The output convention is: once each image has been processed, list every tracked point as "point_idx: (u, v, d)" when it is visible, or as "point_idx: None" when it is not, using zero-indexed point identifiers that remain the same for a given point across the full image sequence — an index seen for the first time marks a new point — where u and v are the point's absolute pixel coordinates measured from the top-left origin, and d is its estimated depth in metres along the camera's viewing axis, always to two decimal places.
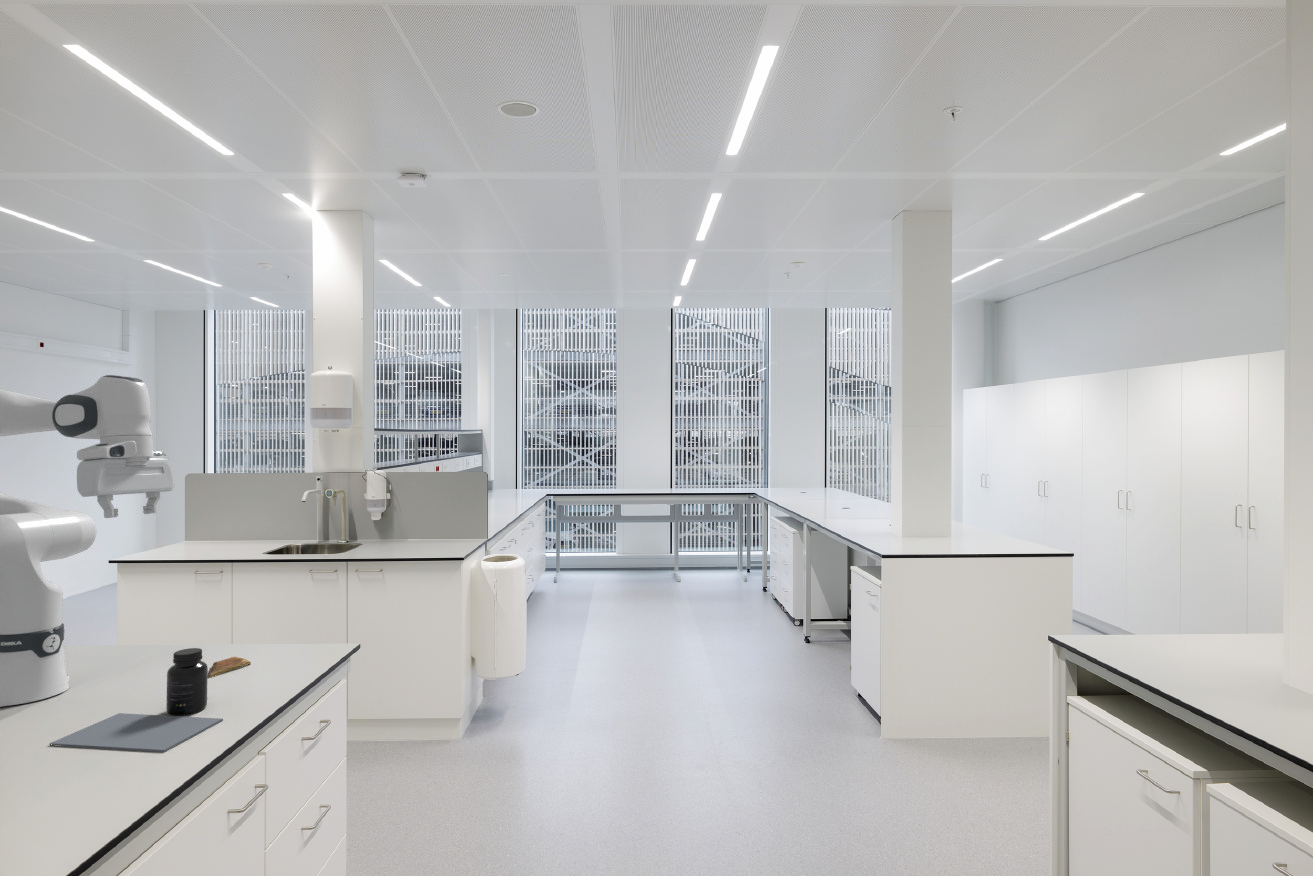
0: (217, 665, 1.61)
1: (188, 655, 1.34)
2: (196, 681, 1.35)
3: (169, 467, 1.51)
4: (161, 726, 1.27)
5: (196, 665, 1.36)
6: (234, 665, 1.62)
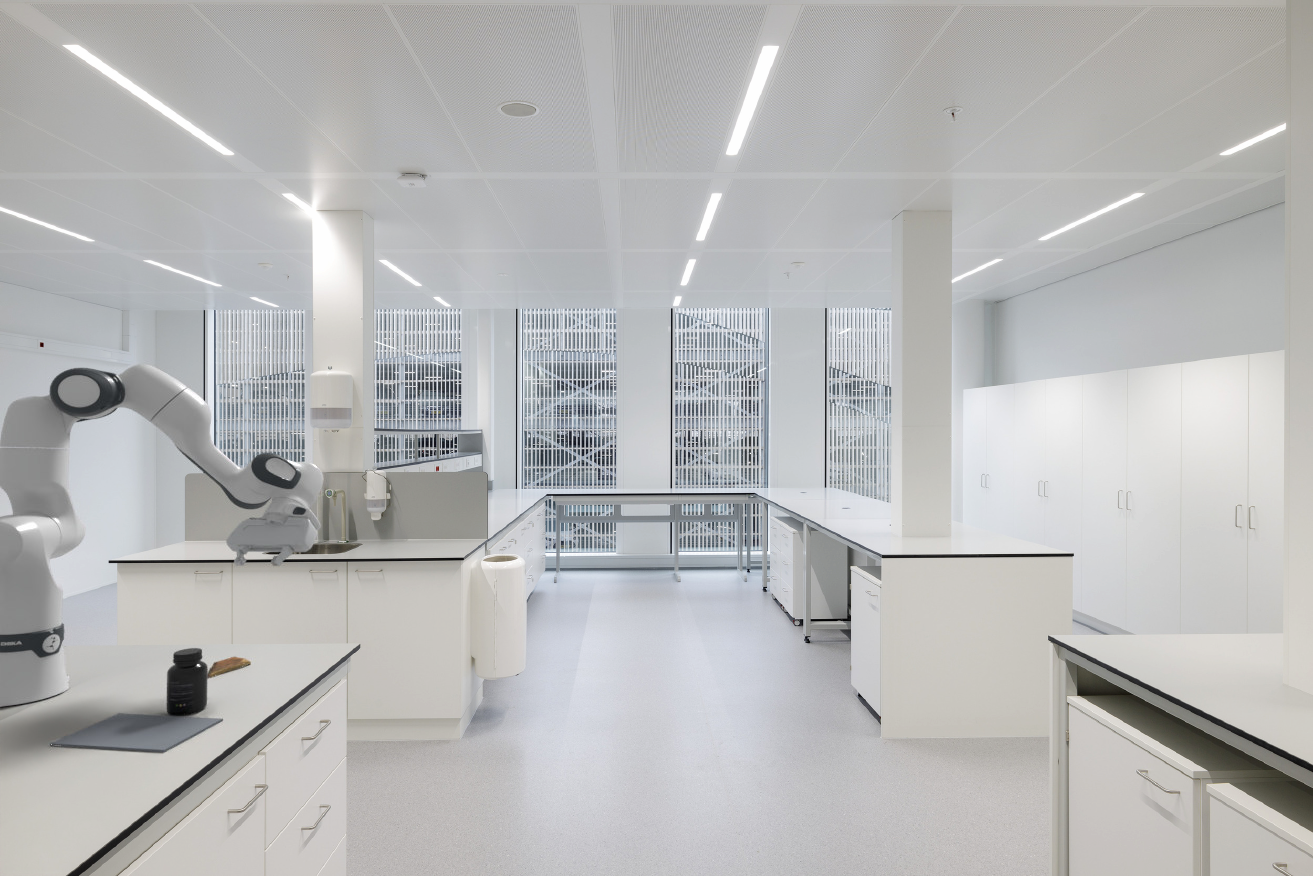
0: (217, 665, 1.61)
1: (188, 655, 1.34)
2: (196, 681, 1.35)
3: None
4: (161, 726, 1.27)
5: (196, 665, 1.36)
6: (234, 665, 1.62)
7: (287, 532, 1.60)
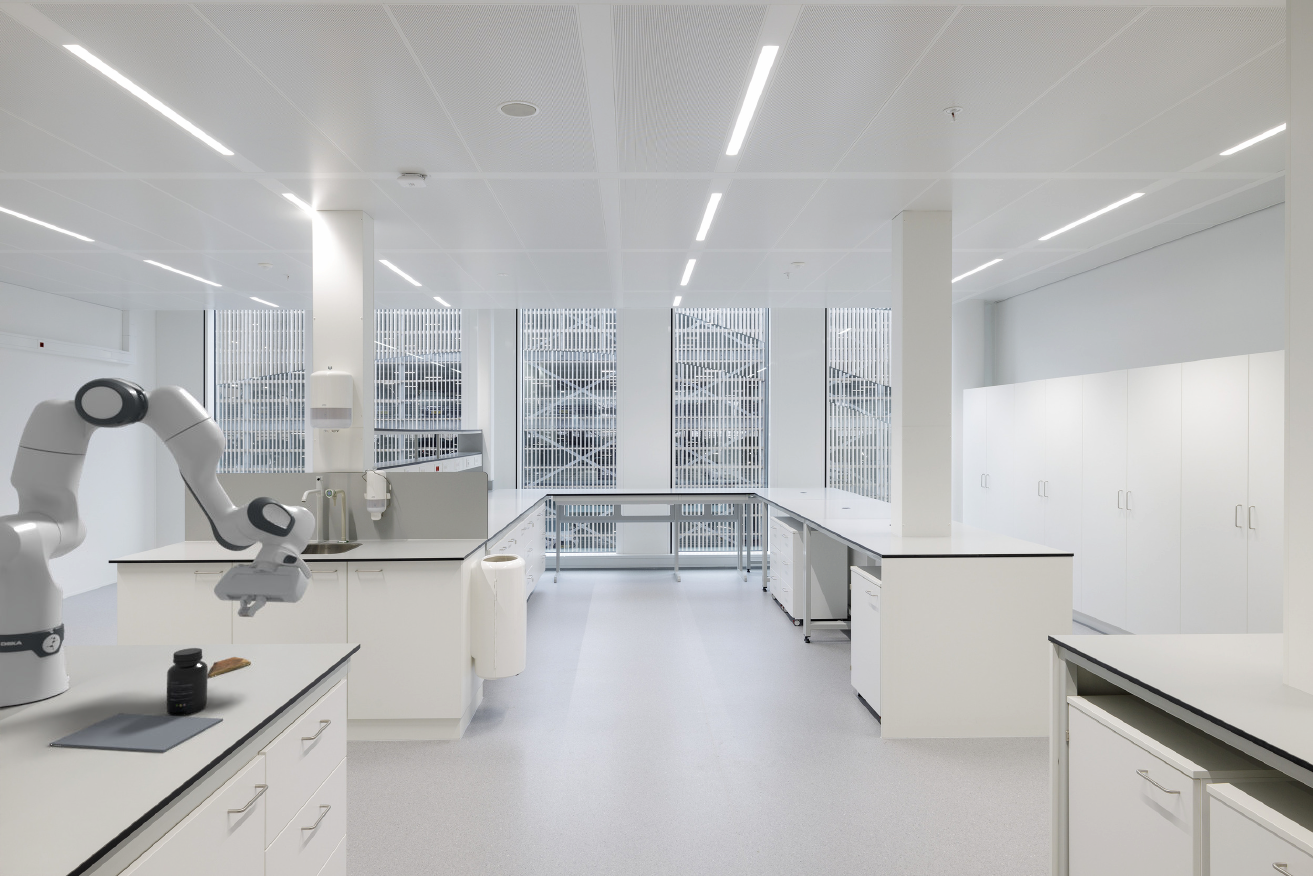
0: (217, 665, 1.61)
1: (188, 655, 1.34)
2: (196, 681, 1.35)
3: None
4: (161, 726, 1.27)
5: (196, 665, 1.36)
6: (234, 665, 1.62)
7: (277, 582, 1.57)
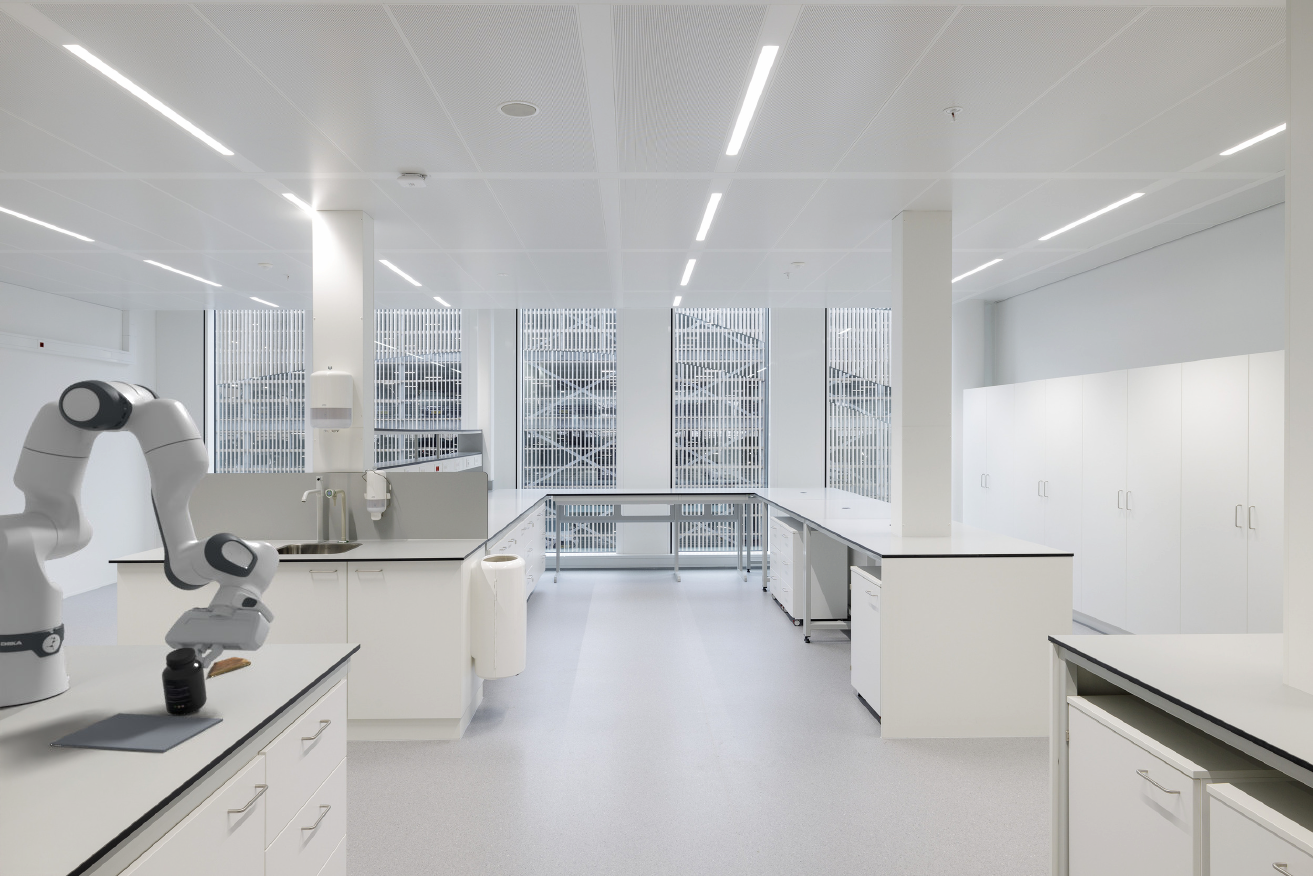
0: (217, 665, 1.61)
1: (180, 660, 1.32)
2: (192, 683, 1.33)
3: None
4: (161, 726, 1.27)
5: (191, 667, 1.33)
6: (234, 665, 1.62)
7: (235, 628, 1.43)
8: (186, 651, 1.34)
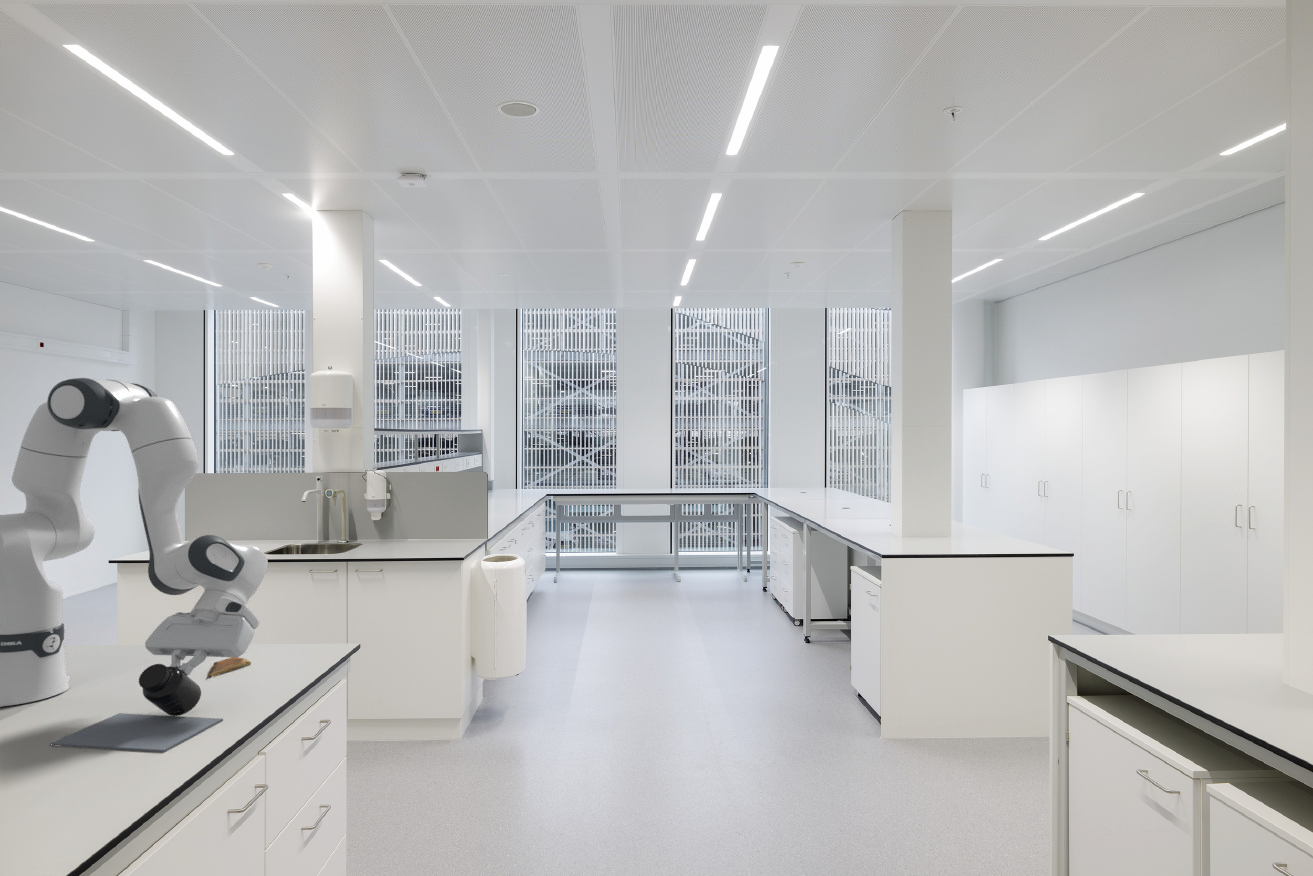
0: (217, 665, 1.61)
1: (155, 686, 1.25)
2: (178, 696, 1.29)
3: None
4: (161, 726, 1.27)
5: (169, 685, 1.28)
6: (234, 665, 1.62)
7: (217, 634, 1.37)
8: (158, 671, 1.27)
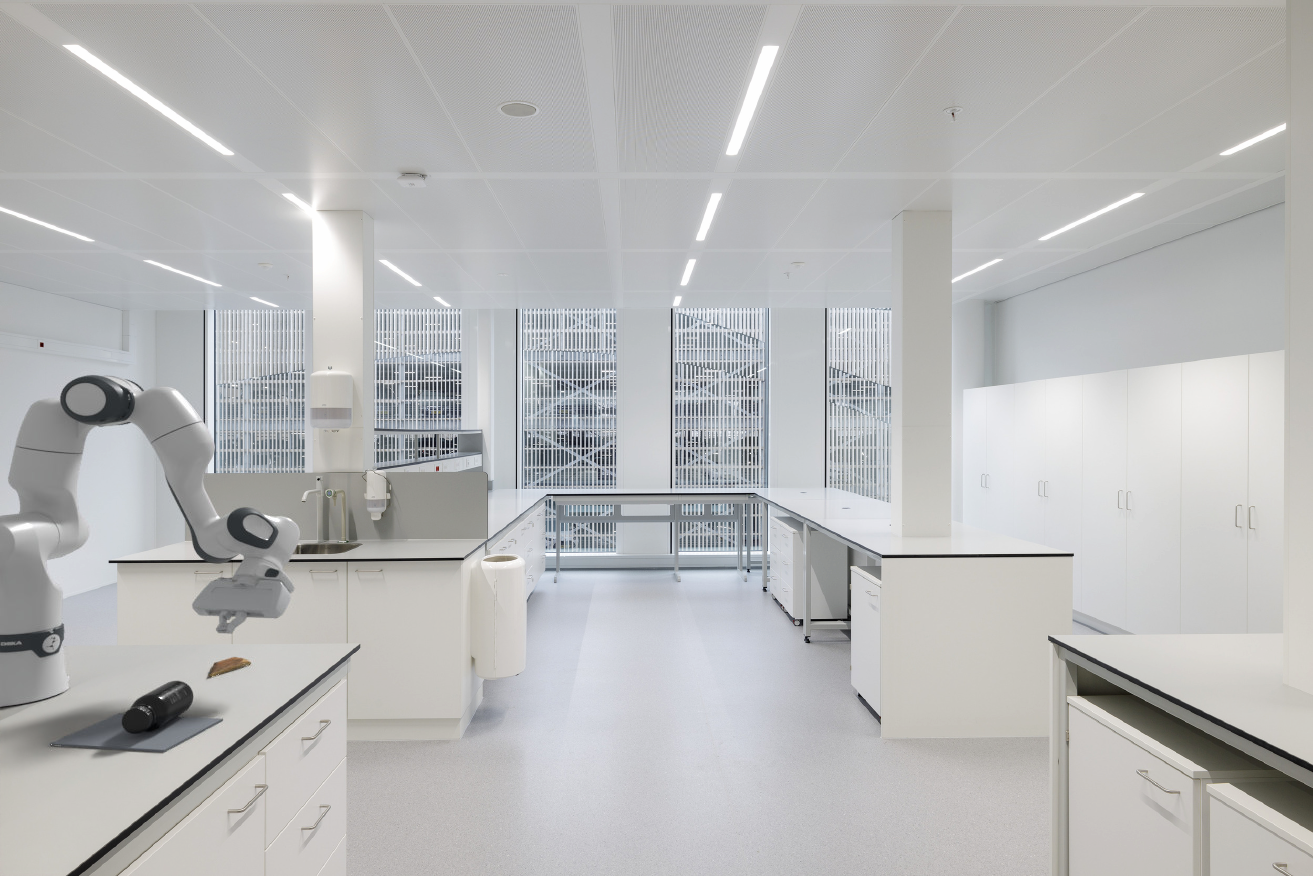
0: (217, 665, 1.61)
1: (142, 731, 1.22)
2: (170, 719, 1.27)
3: None
4: None
5: (157, 720, 1.24)
6: (234, 665, 1.62)
7: (258, 597, 1.50)
8: (138, 716, 1.21)
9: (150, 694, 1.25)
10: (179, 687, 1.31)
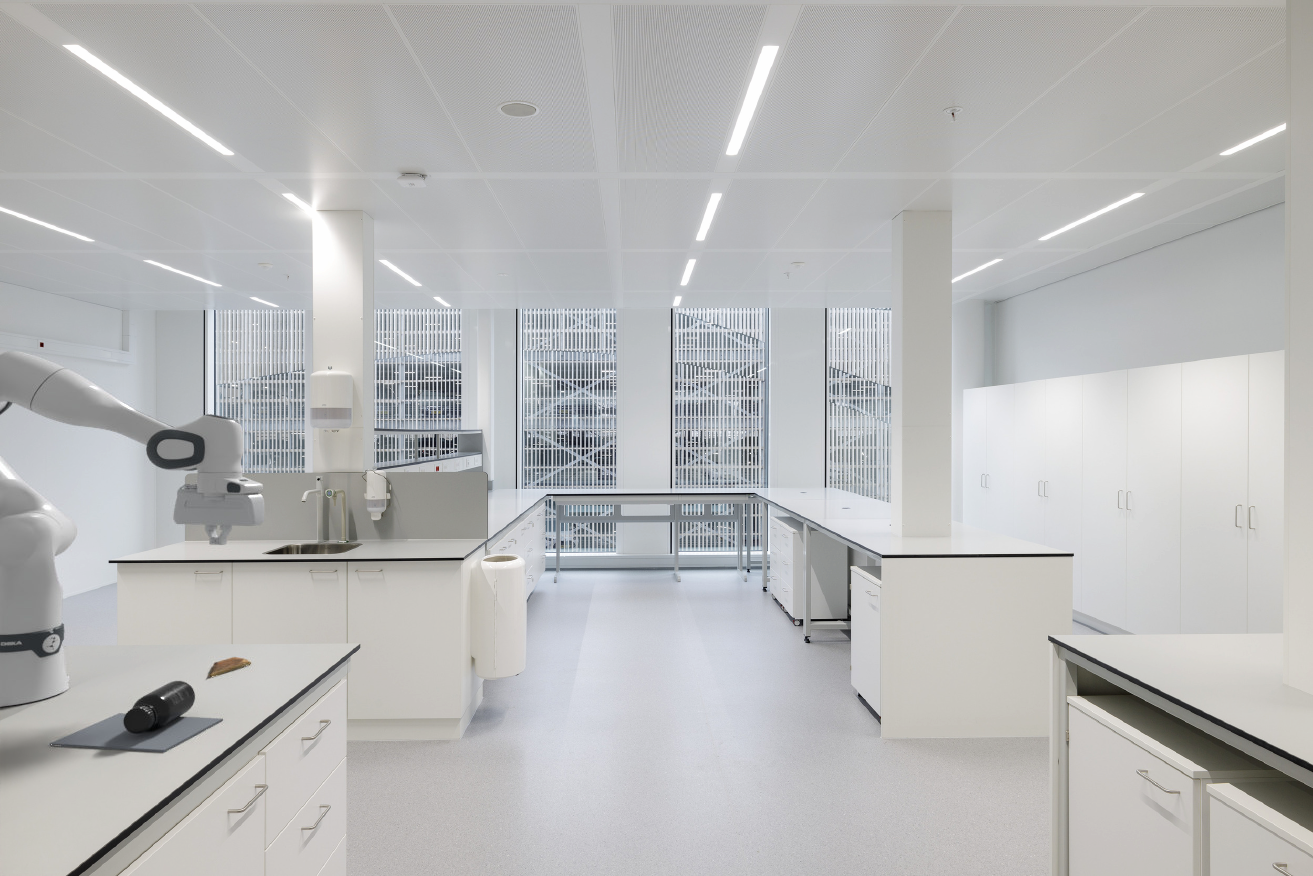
0: (218, 665, 1.61)
1: (143, 731, 1.22)
2: (171, 720, 1.27)
3: None
4: None
5: (158, 721, 1.24)
6: (234, 665, 1.62)
7: (232, 511, 1.53)
8: (140, 716, 1.21)
9: (153, 694, 1.25)
10: (182, 688, 1.31)
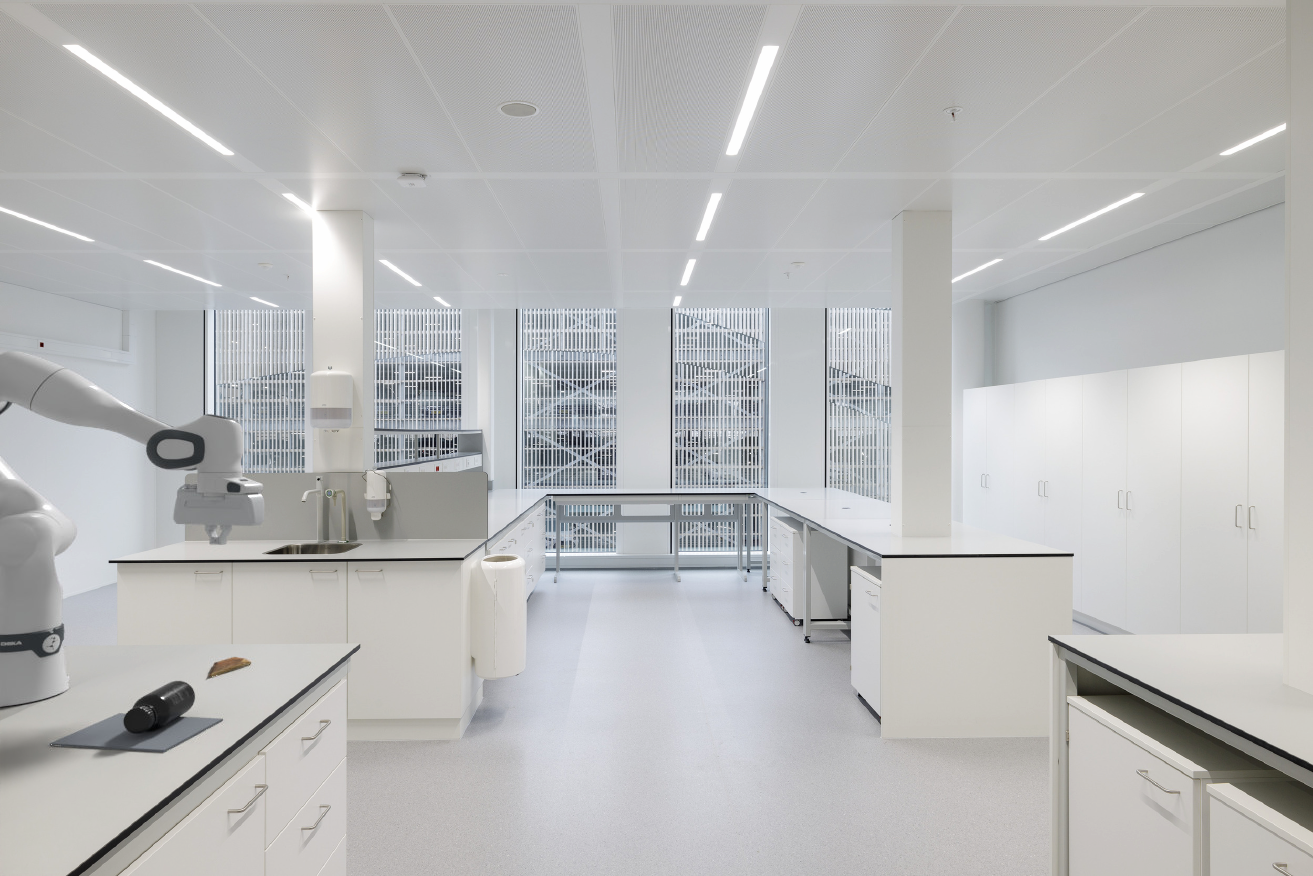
0: (218, 665, 1.61)
1: (143, 731, 1.22)
2: (171, 720, 1.27)
3: None
4: None
5: (158, 721, 1.24)
6: (235, 665, 1.62)
7: (232, 511, 1.53)
8: (140, 716, 1.21)
9: (153, 694, 1.25)
10: (182, 688, 1.31)
